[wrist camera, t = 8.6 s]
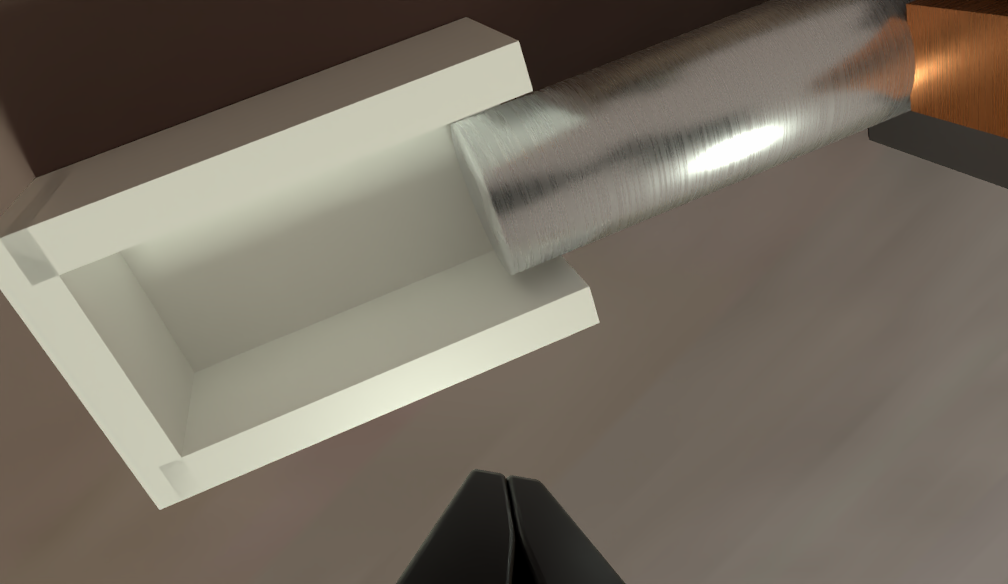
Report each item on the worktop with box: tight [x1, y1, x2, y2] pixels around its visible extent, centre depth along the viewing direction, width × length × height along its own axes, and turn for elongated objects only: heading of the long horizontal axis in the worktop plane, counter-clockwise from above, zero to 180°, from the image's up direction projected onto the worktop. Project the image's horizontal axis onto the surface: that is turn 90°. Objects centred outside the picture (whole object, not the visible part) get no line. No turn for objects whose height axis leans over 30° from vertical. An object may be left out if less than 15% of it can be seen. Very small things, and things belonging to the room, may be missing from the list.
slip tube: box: [451, 0, 1008, 275], centre depth 15 cm, size 16×4×10 cm, turn 107°
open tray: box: [0, 17, 600, 510], centre depth 18 cm, size 10×7×4 cm, turn 107°
